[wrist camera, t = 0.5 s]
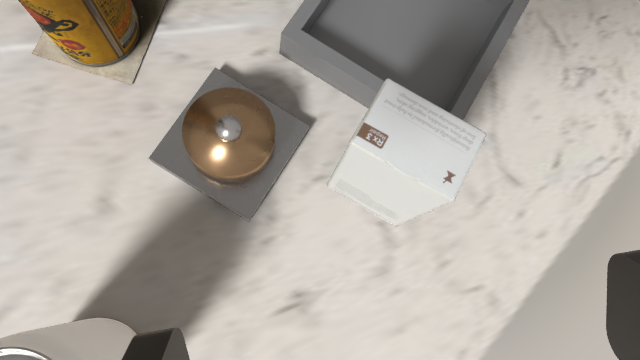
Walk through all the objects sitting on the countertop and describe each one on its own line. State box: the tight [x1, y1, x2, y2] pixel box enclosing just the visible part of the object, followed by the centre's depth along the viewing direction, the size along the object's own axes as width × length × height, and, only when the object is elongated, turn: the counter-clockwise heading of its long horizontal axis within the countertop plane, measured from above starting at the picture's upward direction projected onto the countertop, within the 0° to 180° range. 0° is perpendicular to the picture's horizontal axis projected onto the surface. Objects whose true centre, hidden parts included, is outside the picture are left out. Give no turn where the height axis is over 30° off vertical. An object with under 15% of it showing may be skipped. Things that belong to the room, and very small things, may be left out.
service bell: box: [149, 68, 309, 221], centre depth 33 cm, size 8×8×4 cm
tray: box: [280, 0, 529, 120], centre depth 37 cm, size 14×14×3 cm
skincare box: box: [327, 78, 486, 226], centre depth 30 cm, size 6×4×12 cm
